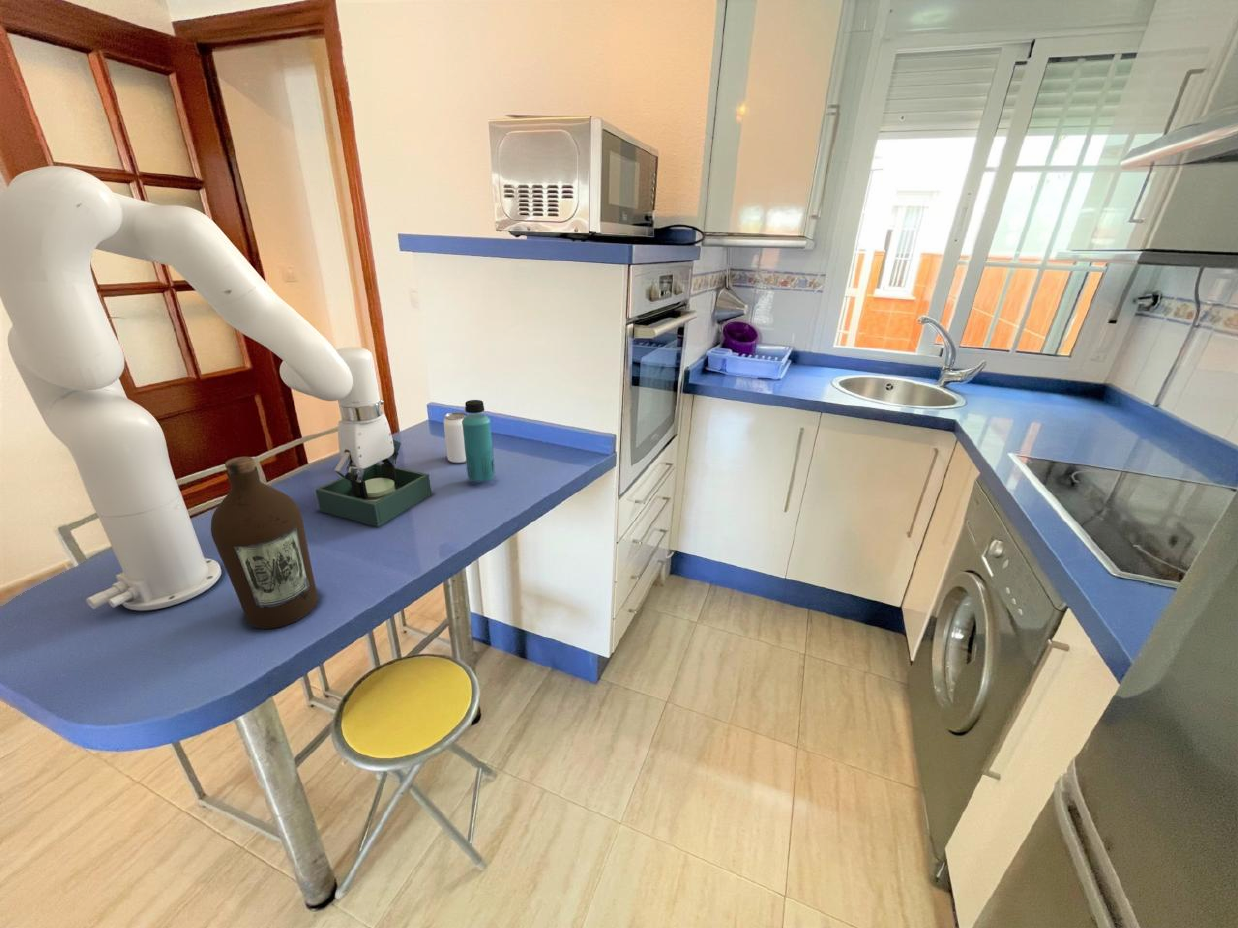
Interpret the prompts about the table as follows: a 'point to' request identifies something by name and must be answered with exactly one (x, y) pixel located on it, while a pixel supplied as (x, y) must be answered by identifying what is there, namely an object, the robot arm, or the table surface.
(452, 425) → the can
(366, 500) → the beige disc
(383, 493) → the pale green disc
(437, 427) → the table surface
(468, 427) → the beverage bottle
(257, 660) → the table surface
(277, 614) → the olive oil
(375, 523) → the tub
